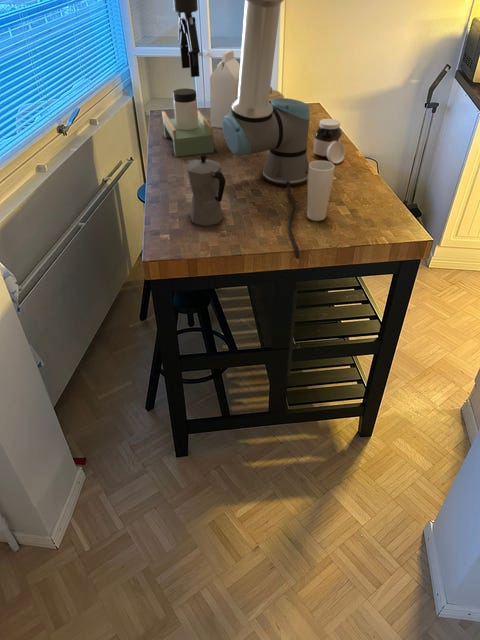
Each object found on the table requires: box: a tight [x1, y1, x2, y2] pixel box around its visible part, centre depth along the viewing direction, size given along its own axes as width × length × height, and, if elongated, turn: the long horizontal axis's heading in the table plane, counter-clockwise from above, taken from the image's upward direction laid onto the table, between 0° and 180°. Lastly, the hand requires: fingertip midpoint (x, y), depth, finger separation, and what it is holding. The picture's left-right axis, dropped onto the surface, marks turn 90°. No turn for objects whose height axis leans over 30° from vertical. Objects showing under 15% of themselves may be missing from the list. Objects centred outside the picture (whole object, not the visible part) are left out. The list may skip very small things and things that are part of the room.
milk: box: [209, 49, 240, 129], centre depth 185 cm, size 12×12×26 cm
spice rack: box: [161, 108, 215, 158], centre depth 174 cm, size 22×14×9 cm, turn 17°
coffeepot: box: [185, 154, 226, 227], centre depth 126 cm, size 15×9×18 cm, turn 39°
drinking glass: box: [306, 160, 335, 222], centre depth 128 cm, size 7×7×15 cm
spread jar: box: [313, 118, 346, 164], centre depth 161 cm, size 12×11×12 cm
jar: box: [172, 88, 199, 131], centre depth 169 cm, size 9×8×12 cm
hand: (190, 72), depth 160 cm, fingers open, 13 cm apart
